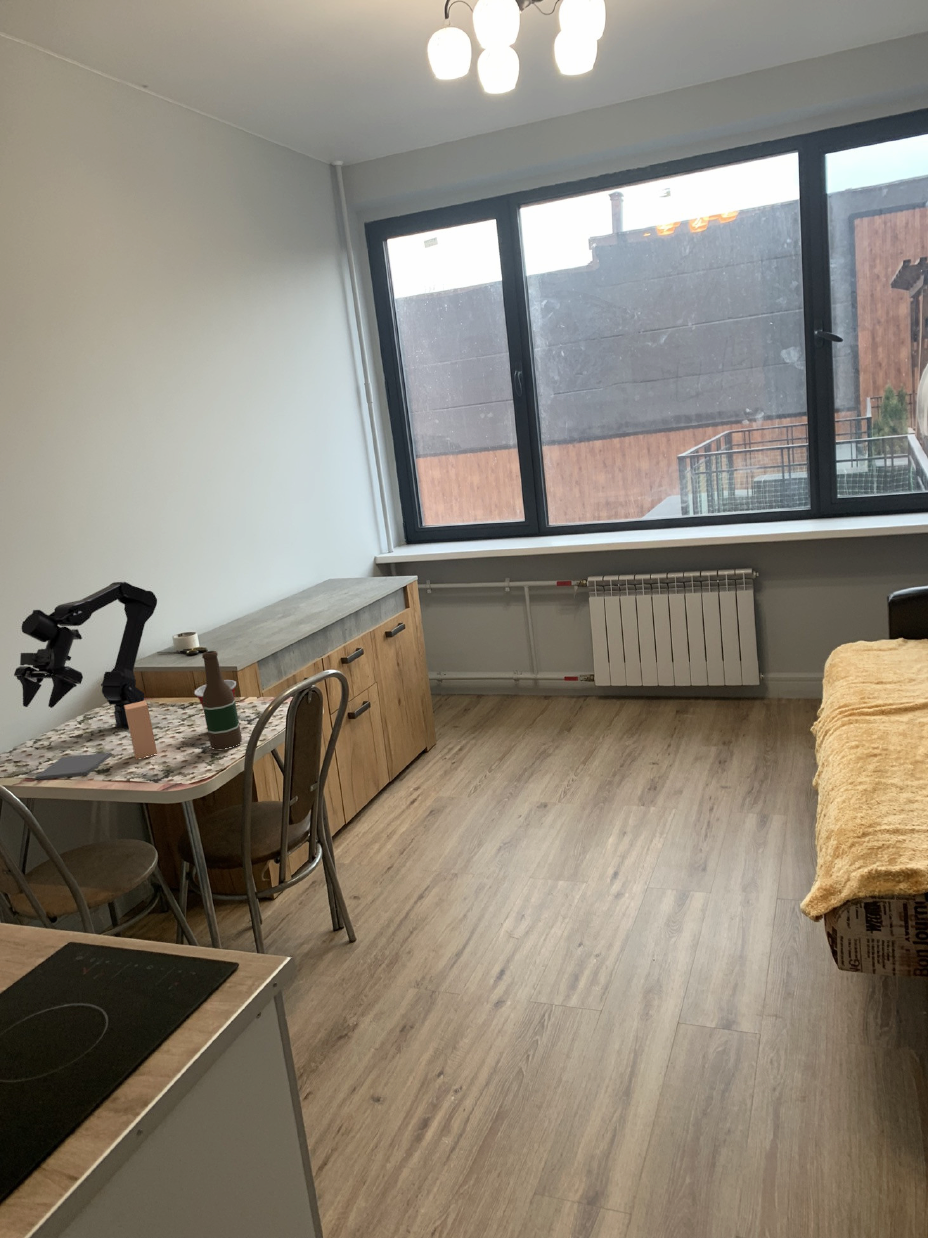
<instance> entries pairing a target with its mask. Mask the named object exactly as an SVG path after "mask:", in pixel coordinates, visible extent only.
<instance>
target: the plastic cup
mask: <svg viewBox="0 0 928 1238" xmlns="http://www.w3.org/2000/svg"><path fill="white" fill-rule="evenodd" d="M223 680H224V682H225V683H226V684H227V685H228V686H229V687H230V689H231V690H232V692H233V695H234V699H235V698H236V697H235V696H236V692H235V691H236V686H237V681H235V680H231V679H223ZM205 688H206V684H203V685H201V686H199V687H198V688H196V689H195V690H194V695H195V696H196V697H197V698H198V700H199V702H200V704H201V706H202V708H203V701H202V699H203V693H204V691H205ZM235 700H236V699H235Z"/></svg>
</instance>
